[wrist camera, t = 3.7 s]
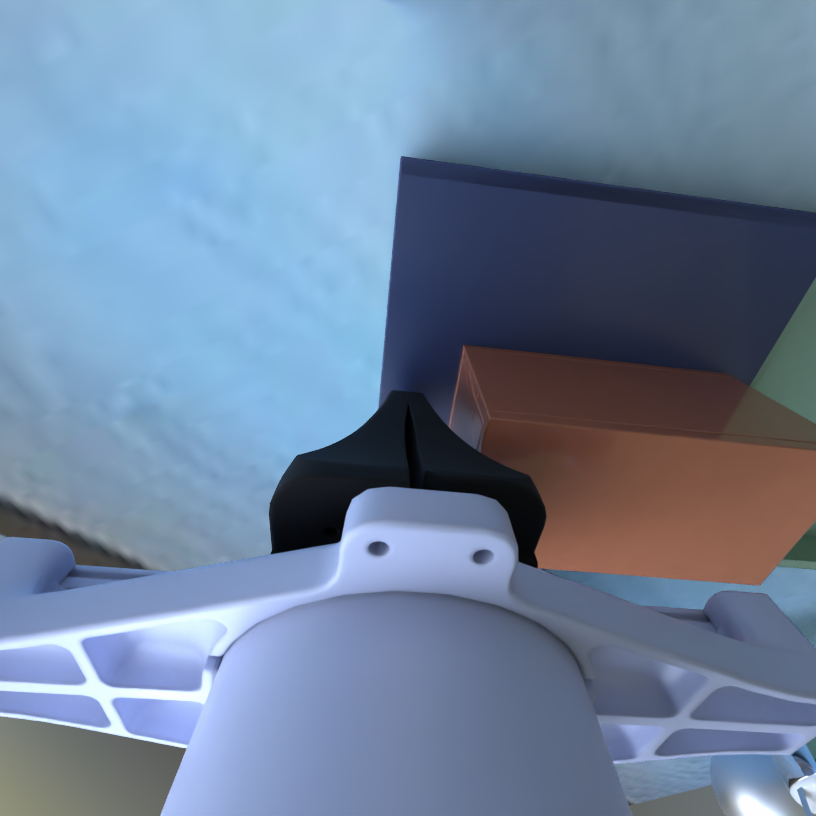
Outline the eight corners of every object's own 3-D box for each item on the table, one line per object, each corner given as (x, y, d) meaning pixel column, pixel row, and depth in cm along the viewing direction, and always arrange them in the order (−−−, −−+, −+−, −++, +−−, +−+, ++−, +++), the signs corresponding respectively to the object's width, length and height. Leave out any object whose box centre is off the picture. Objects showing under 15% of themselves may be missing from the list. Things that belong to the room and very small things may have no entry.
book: (612, 518, 22) (641, 565, 20) (372, 497, 22) (366, 543, 19) (768, 212, 15) (853, 217, 12) (402, 163, 14) (401, 156, 11)
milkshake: (705, 621, 27) (845, 824, 19) (777, 624, 27) (950, 826, 19) (678, 657, 29) (792, 853, 21) (746, 660, 30) (887, 855, 21)
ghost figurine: (707, 763, 39) (793, 928, 30) (674, 729, 35) (761, 906, 27) (805, 738, 36) (931, 912, 27) (780, 699, 33) (916, 884, 24)
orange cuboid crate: (440, 459, 16) (453, 562, 12) (463, 344, 14) (489, 418, 9) (665, 480, 17) (760, 586, 12) (726, 372, 14) (873, 455, 10)
